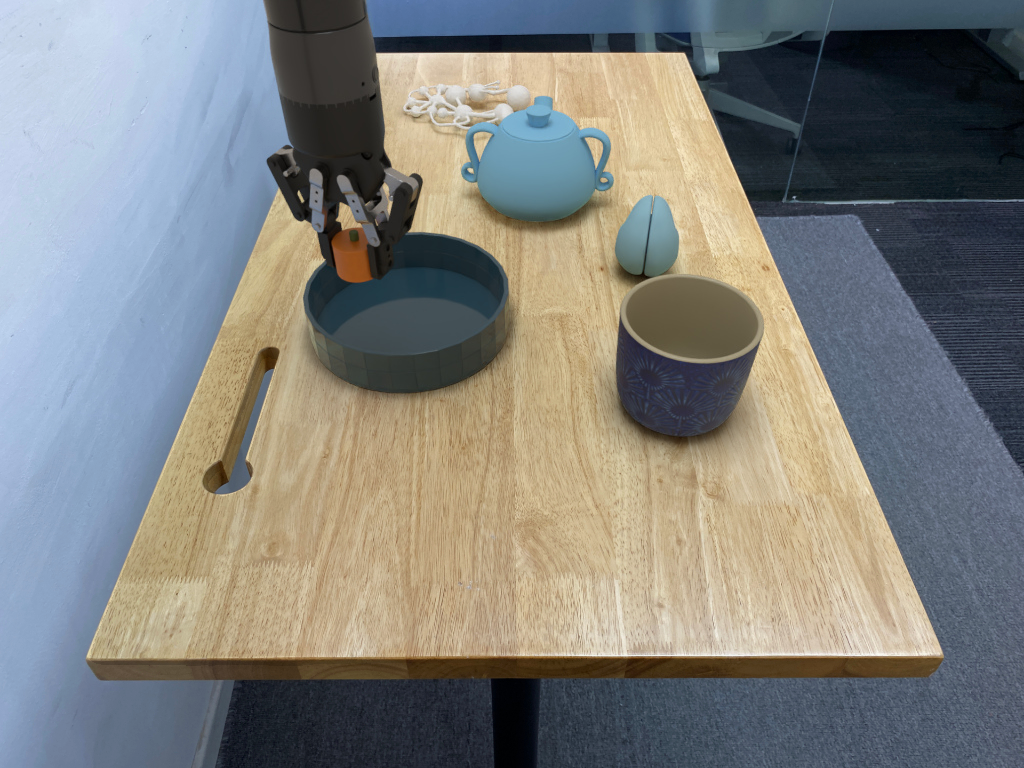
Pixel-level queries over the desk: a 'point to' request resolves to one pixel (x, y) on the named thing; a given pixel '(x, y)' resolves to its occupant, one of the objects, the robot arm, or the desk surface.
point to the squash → (352, 255)
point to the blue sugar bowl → (537, 164)
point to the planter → (685, 352)
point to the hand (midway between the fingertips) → (359, 267)
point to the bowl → (411, 316)
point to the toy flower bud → (648, 238)
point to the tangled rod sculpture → (456, 98)
